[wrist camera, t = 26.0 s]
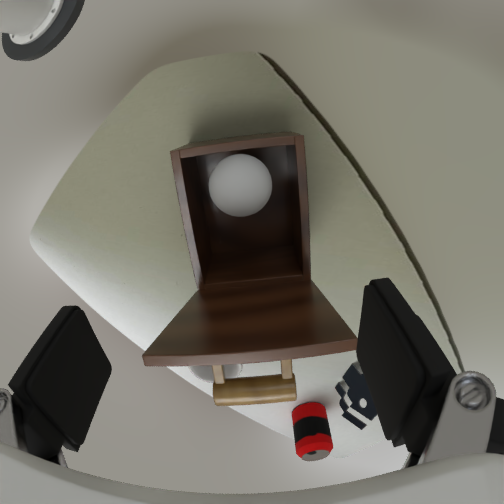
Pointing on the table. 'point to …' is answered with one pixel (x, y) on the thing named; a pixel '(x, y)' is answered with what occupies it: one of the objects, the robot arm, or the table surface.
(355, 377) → the logo
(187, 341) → the lid
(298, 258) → the chest
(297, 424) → the soda can
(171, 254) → the table surface
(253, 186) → the lightbulb
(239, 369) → the cup
